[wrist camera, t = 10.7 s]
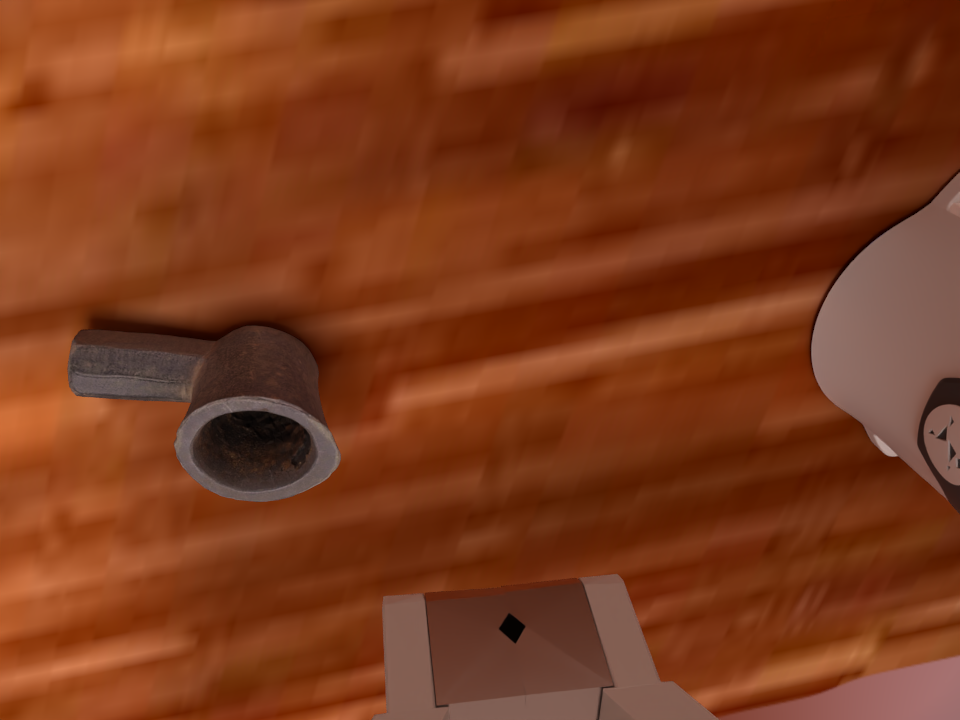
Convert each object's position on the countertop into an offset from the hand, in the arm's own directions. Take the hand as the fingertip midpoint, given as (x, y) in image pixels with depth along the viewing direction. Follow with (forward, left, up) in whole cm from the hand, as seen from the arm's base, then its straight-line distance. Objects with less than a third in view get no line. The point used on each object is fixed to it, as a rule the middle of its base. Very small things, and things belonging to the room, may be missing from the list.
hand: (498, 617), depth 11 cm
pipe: (+10, +15, -31) cm, 36 cm away
